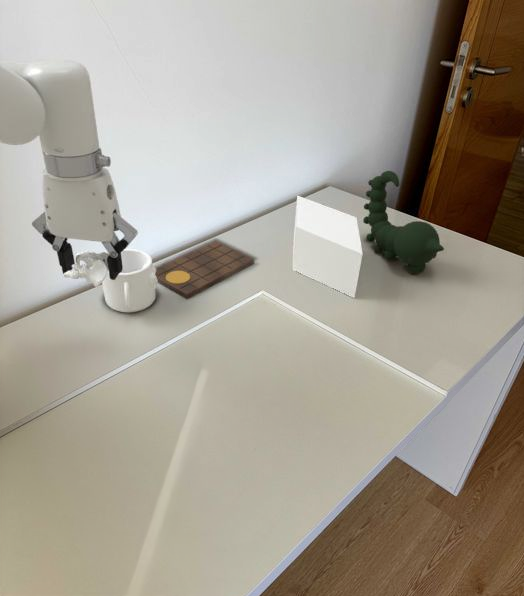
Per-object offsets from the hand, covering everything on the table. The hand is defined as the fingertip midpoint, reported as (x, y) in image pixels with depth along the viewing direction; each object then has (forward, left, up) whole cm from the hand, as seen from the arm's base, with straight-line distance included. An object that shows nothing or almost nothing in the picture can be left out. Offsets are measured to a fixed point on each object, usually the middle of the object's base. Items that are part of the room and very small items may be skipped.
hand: (92, 272), depth 84 cm
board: (+11, +28, -15) cm, 33 cm away
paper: (+37, +35, -15) cm, 53 cm away
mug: (+1, +12, -15) cm, 19 cm away
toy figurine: (+54, +41, -15) cm, 70 cm away
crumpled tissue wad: (0, 0, -1) cm, 1 cm away
